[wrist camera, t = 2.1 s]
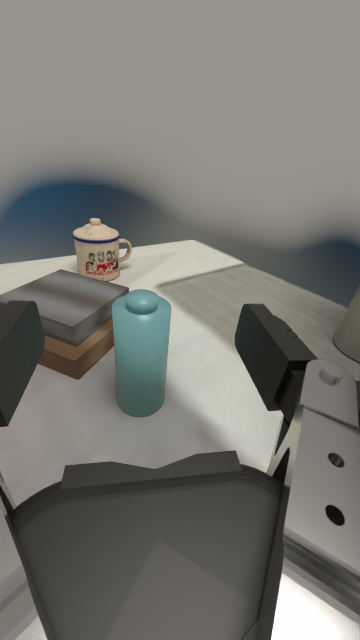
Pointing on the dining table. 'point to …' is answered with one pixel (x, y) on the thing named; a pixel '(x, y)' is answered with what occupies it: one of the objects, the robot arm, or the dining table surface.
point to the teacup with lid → (99, 251)
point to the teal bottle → (141, 350)
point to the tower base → (72, 318)
